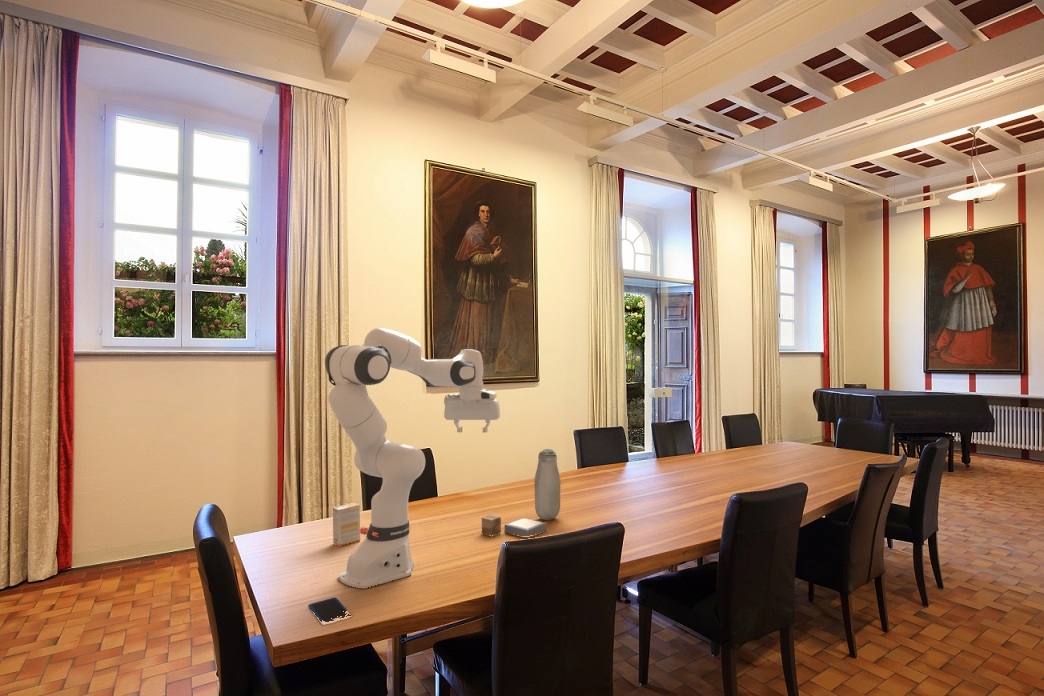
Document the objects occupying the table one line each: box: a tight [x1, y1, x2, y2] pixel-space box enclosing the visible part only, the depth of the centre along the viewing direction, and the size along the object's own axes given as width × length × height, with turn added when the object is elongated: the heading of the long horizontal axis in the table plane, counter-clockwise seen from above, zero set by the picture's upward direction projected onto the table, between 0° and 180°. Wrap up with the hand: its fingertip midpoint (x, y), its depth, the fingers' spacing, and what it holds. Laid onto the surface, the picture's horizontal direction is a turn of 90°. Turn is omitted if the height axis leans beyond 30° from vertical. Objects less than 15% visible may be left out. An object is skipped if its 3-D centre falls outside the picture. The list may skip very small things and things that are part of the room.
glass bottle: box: [534, 448, 561, 521], centre depth 216 cm, size 10×10×28 cm
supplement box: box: [332, 502, 361, 547], centre depth 190 cm, size 8×5×13 cm, turn 135°
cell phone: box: [308, 597, 352, 622], centre depth 138 cm, size 7×14×1 cm, turn 36°
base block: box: [504, 517, 547, 539], centre depth 200 cm, size 11×11×3 cm
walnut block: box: [481, 514, 502, 537], centre depth 198 cm, size 5×5×6 cm
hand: (472, 432), depth 193 cm, fingers open, 8 cm apart
